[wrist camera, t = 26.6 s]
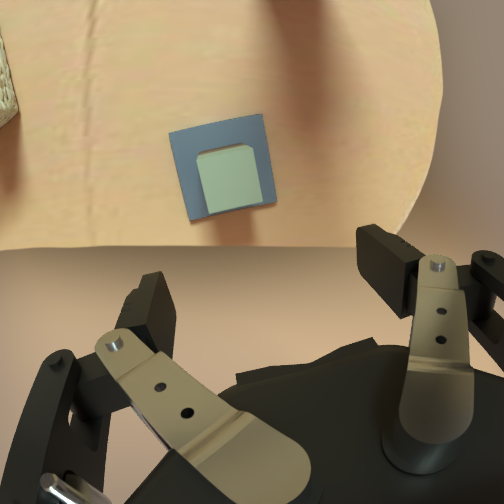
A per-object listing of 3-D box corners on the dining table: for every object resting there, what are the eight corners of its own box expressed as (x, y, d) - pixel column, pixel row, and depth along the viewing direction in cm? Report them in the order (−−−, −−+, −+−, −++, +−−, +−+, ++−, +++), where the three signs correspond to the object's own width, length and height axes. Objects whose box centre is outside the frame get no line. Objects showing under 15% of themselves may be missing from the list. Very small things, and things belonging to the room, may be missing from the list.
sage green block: (197, 155, 33) (196, 160, 28) (246, 144, 33) (252, 148, 29) (208, 201, 35) (209, 214, 31) (255, 191, 35) (263, 201, 31)
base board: (169, 133, 37) (168, 133, 36) (260, 113, 37) (261, 113, 36) (190, 218, 42) (189, 220, 41) (275, 199, 42) (277, 201, 41)
